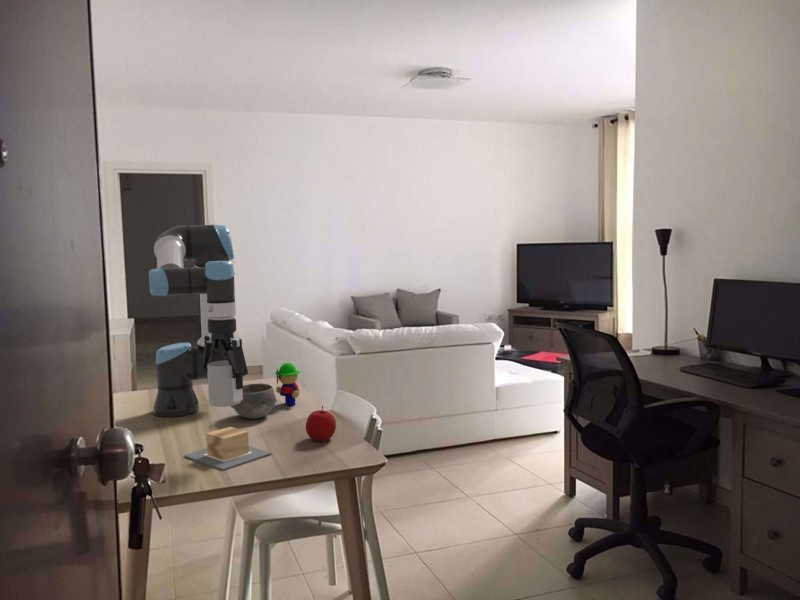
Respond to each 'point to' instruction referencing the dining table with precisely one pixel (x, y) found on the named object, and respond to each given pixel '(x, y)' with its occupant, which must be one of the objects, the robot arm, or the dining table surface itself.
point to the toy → (288, 383)
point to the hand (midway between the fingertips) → (225, 397)
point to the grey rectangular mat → (230, 463)
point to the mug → (220, 384)
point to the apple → (320, 425)
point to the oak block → (227, 443)
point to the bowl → (256, 401)
